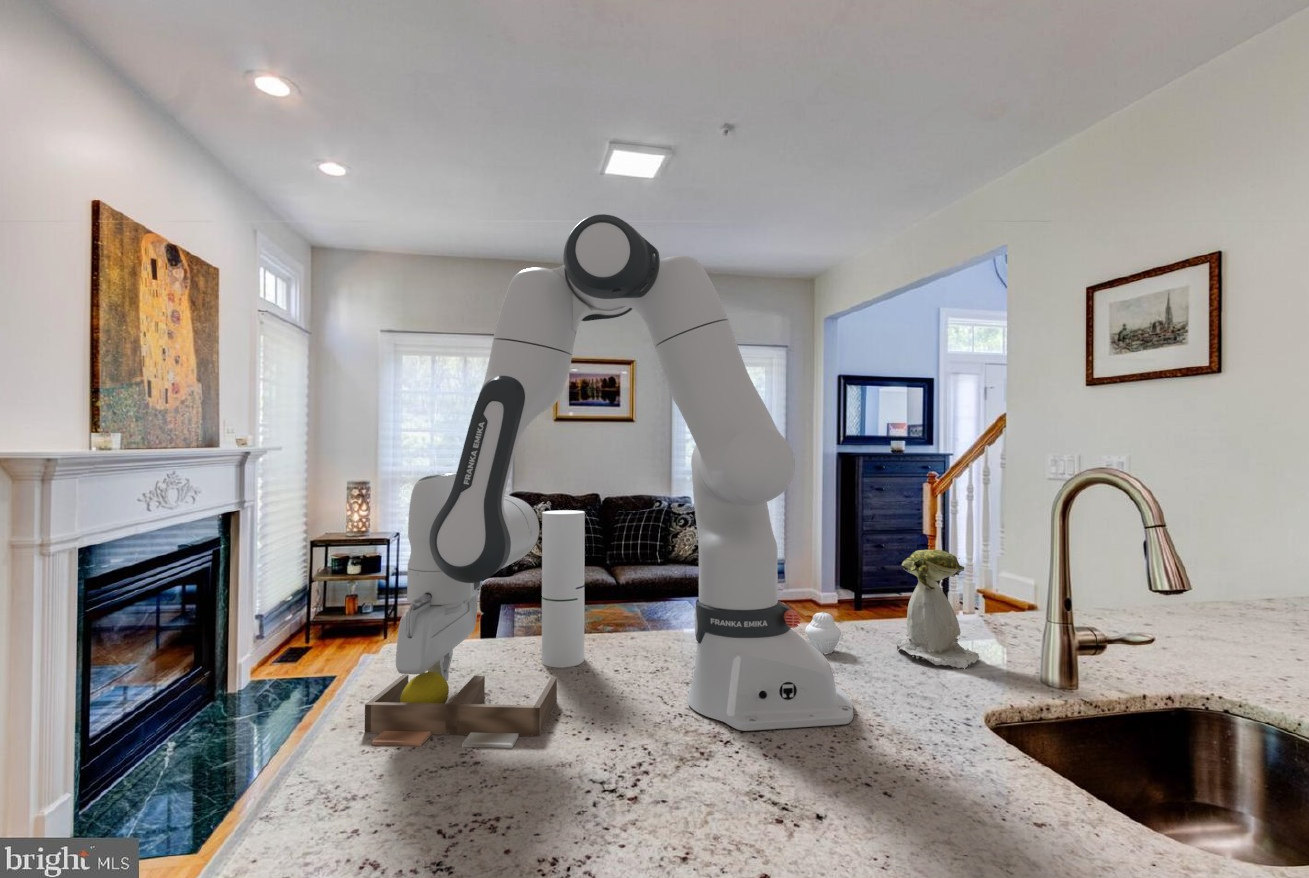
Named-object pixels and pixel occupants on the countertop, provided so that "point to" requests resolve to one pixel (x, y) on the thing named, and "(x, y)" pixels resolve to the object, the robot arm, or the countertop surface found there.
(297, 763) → the countertop surface
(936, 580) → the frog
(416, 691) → the lemon
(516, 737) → the bay rack
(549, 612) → the cylindrical container
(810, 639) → the muffin
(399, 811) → the countertop surface
